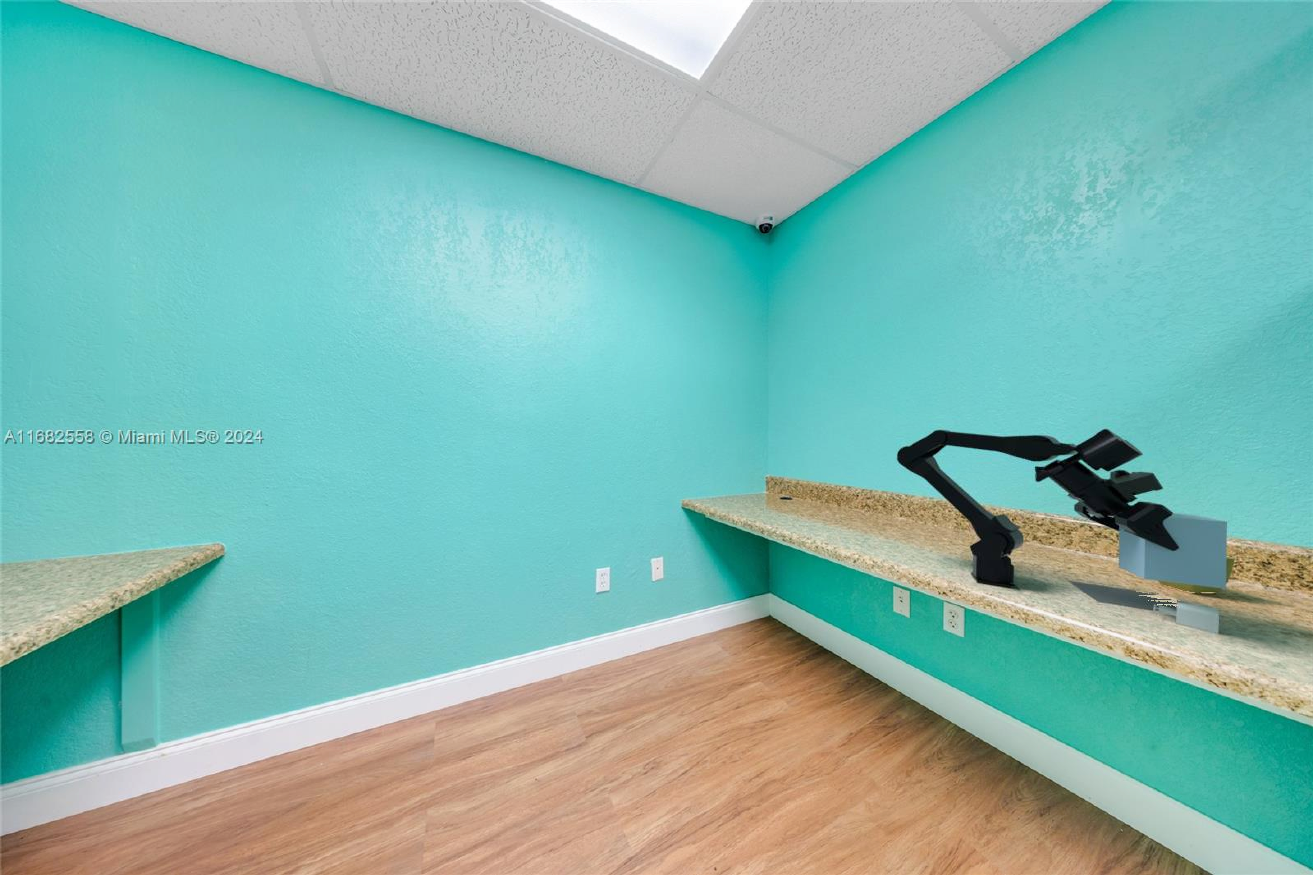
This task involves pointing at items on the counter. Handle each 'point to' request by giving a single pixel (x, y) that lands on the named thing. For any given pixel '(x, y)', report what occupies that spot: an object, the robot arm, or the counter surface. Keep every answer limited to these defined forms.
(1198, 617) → the usb wall charger
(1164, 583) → the flower pot
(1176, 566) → the light blue rectangular block
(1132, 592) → the mat
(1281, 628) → the counter surface
